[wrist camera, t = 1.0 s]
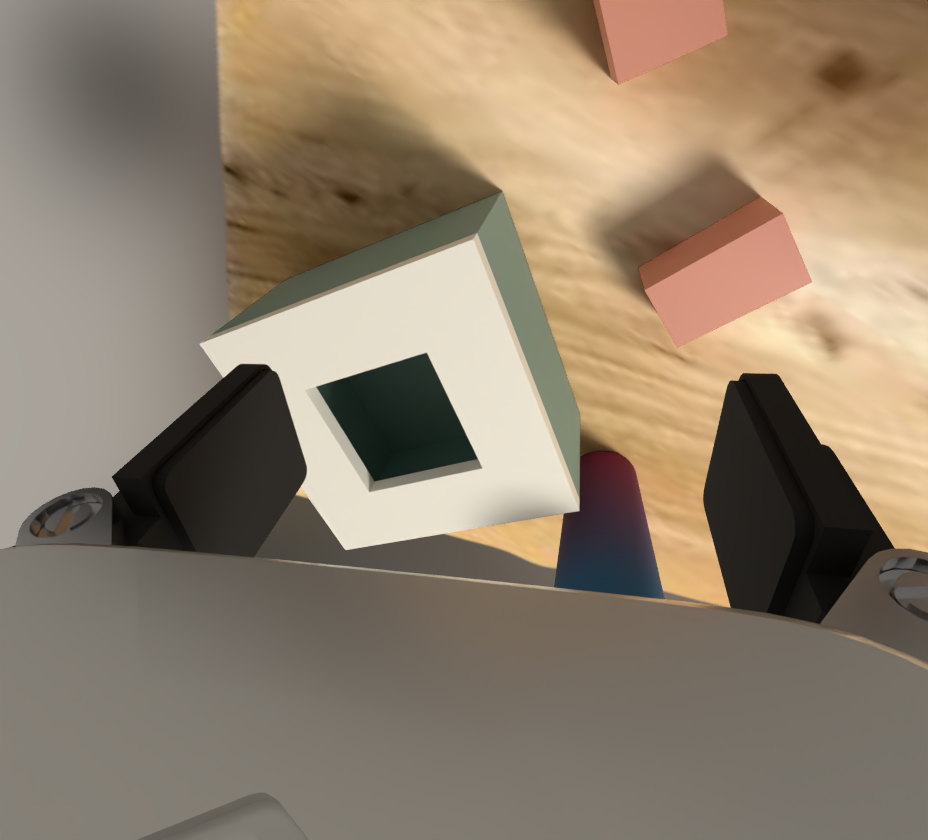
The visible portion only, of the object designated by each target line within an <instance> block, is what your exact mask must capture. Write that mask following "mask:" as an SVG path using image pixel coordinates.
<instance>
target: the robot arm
mask: <svg viewBox="0 0 928 840" xmlns="http://www.w3.org/2000/svg"><path fill="white" fill-rule="evenodd" d="M306 475H307V466H306V462H305V459H304V455H303V452H302V449H301V446H300V442H299V439H298V436H297V433H296V429H295V426H294V423H293V420H292V417H291V413H290V410H289V407H288V404H287V400H286V397H285V394H284V391H283V387H282V384H281V381H280V378H279V376H278V374H277V373H276V372H275V371H272V369H271V368H270V367H269V366H268V365H266V364H239V365H238V366H236V367H235V368H234V369H233V370H232V371H231V372H230V373H229V374H227V375H226V376H225V377H224V378H223V379H222V380H221V381H219V382H218V383H217V384H216V385H215V386H214V387H213V388H212V389H211V390H209V391H208V392H207V393H206V394H205V395H204V396H203V397H201V398H200V399H199V400H198V401H197V402H196V403H195V404H193V405H192V406H191V407H190V408H189V409H188V410H187V411H186V412H184V413H183V414H182V415H181V416H180V417H179V418H178V419H176V421H174V422H173V423H172V424H171V425H170V426H169V427H167V428H166V429H165V430H164V431H163V432H162V433H161V434H160V435H158V437H156V438H155V439H154V440H153V441H152V442H150V443H149V444H148V445H147V446H146V447H145V448H144V449H143V450H141V451H140V452H139V453H138V454H137V455H136V456H135V457H134V458H132V459H131V460H130V461H129V462H128V463H127V464H126V465H124V466H123V467H122V468H121V469H120V470H119V471H118V472H117V473H116V474H114V475H113V476H112V478H113V480H114V482H115V483H116V485H117V487H118V489H119V490H120V491H119V492H118V493H117V494H116V495H115V496H114V497H112V495H111V493H110V492H108V491H107V490H105V489H102V488H95V487H94V488H83V489H79V490H75V491H71V492H68V493H66V494H63V495H61V496H58V497H56V498H54V499H52V500H51V501H49V502H47V503H45V504H43V505H42V506H41V507H39V508H38V509H37V510H35V511H34V512H33V513H31V514H30V515H29V516H28V518H27V519H26V520H25V521H24V522H23V523H22V525H21V528H20V530H19V533H18V537H17V541H16V545H15V546H13V547H9V548H4V549H0V840H928V553H927V552H922V551H917V550H912V549H895V548H894V546H893V545H892V543H891V542H890V540H889V539H888V537H887V535H886V534H885V532H884V531H883V529H882V527H881V526H880V524H879V523H878V521H877V520H876V518H875V516H874V515H873V513H872V512H871V510H870V509H869V507H868V505H867V504H866V502H865V501H864V499H863V497H862V496H861V494H860V493H859V491H858V490H857V488H856V486H855V485H854V483H853V482H852V480H851V478H850V477H849V475H848V474H847V472H846V471H845V469H844V467H843V466H842V464H841V463H840V461H839V460H838V458H837V456H836V455H835V453H834V452H833V451H832V449H831V448H830V447H829V446H826V445H821V444H820V442H819V440H818V439H817V437H816V435H815V434H814V432H813V431H812V429H811V427H810V426H809V424H808V422H807V421H806V419H805V417H804V416H803V414H802V413H801V411H800V409H799V408H798V406H797V404H796V403H795V401H794V399H793V398H792V396H791V395H790V393H789V391H788V390H787V388H786V386H785V385H784V383H783V381H782V380H781V378H780V377H779V376H778V375H777V374H751V373H743V374H742V375H741V376H740V378H739V381H730V382H729V384H728V386H727V390H726V394H725V399H724V403H723V408H722V412H721V416H720V421H719V425H718V430H717V434H716V439H715V443H714V447H713V452H712V456H711V461H710V465H709V470H708V474H707V478H706V483H705V487H704V495H703V501H704V508H705V512H706V516H707V520H708V523H709V527H710V531H711V535H712V538H713V542H714V546H715V550H716V553H717V557H718V561H719V565H720V568H721V572H722V576H723V580H724V583H725V587H726V591H727V595H728V598H729V602H730V606H731V608H728V607H720V606H713V605H706V604H699V603H692V602H684V601H676V600H665V599H656V598H647V597H638V596H629V595H620V594H611V593H602V592H592V591H583V590H573V589H564V588H554V587H545V586H534V585H526V584H516V583H507V582H496V581H487V580H478V579H469V578H458V577H449V576H439V575H429V574H418V573H409V572H398V571H389V570H379V569H369V568H359V567H349V566H337V565H328V564H318V563H308V562H297V561H286V560H276V559H265V558H254V556H255V555H256V553H257V552H258V550H259V549H260V547H261V546H262V544H263V543H264V541H265V540H266V538H267V537H268V535H269V534H270V532H271V530H272V529H273V528H274V526H275V525H276V523H277V521H278V520H279V518H280V517H281V515H282V514H283V512H284V511H285V509H286V508H287V506H288V505H289V503H290V502H291V500H292V499H293V497H294V496H295V494H296V493H297V491H298V490H299V488H300V487H301V485H302V484H303V482H304V481H305V478H306Z"/></svg>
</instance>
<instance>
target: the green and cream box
mask: <svg viewBox="0 0 928 840" xmlns="http://www.w3.org/2000/svg"><path fill="white" fill-rule="evenodd" d="M200 345H201V347H202V348H203V349H204V351H205V352H206V354H207V355H208V357H209V358H210V359H211V361H212V362H213V363H214V365H215V366H216V368H217V369H218V371H219V372H220V373H221V375H222V376H223V378H224V377H225V376H226V375H227V374H229V373H230V372H231V371H232V370H233V369H234V368H235V367H236V366H238V365H239V364H266V365H268V366H269V367H270V368H271V369H272V371H275V372H276V373H277V374H278V376H279V378H280V381H281V384H282V387H283V391H284V394H285V397H286V400H287V404H288V407H289V410H290V413H291V417H292V420H293V423H294V426H295V429H296V433H297V436H298V439H299V442H300V446H301V449H302V452H303V455H304V459H305V462H306V466H307V475H306V478H305V481H304V482H303V484H302V485H301V488H302V489H303V491H304V492H305V494H306V495H307V496H308V498H309V499H310V501H311V502H312V503H313V505H314V506H315V508H316V509H317V511H318V512H319V513H320V515H321V516H322V518H323V519H324V520H325V522H326V523H327V525H328V526H329V528H330V529H331V530H332V532H333V533H334V535H335V536H336V537H337V539H338V540H339V542H340V543H341V544H342V546H343V547H344V549H345V550H348V549H354V548H360V547H366V546H372V545H378V544H384V543H390V542H396V541H402V540H408V539H414V538H420V537H426V536H432V535H438V534H444V533H450V532H456V531H462V530H468V529H474V528H480V527H486V526H492V525H498V524H504V523H510V522H516V521H522V520H528V519H534V518H540V517H546V516H552V515H558V514H564V513H570V512H576V511H579V506H580V412H579V409H578V406H577V403H576V401H575V398H574V395H573V392H572V389H571V386H570V383H569V381H568V378H567V375H566V372H565V369H564V366H563V363H562V360H561V358H560V355H559V352H558V349H557V346H556V343H555V340H554V337H553V335H552V332H551V329H550V326H549V323H548V320H547V317H546V315H545V312H544V309H543V306H542V303H541V300H540V297H539V294H538V292H537V289H536V286H535V283H534V280H533V277H532V274H531V272H530V269H529V266H528V263H527V260H526V257H525V254H524V251H523V249H522V246H521V243H520V240H519V237H518V234H517V231H516V228H515V226H514V223H513V220H512V217H511V214H510V211H509V208H508V206H507V203H506V200H505V197H504V194H503V191H502V192H499V193H497V194H494V195H492V196H489V197H487V198H484V199H482V200H480V201H477V202H475V203H472V204H470V205H467V206H465V207H462V208H460V209H458V210H455V211H453V212H450V213H448V214H445V215H443V216H440V217H438V218H436V219H433V220H431V221H428V222H426V223H423V224H421V225H418V226H416V227H414V228H411V229H409V230H406V231H404V232H401V233H399V234H396V235H394V236H392V237H389V238H387V239H384V240H382V241H379V242H377V243H374V244H372V245H370V246H367V247H365V248H362V249H360V250H357V251H355V252H352V253H350V254H348V255H345V256H343V257H340V258H338V259H335V260H333V261H330V262H328V263H326V264H323V265H321V266H318V267H316V268H313V269H311V270H308V271H306V272H304V273H301V274H299V275H296V276H294V277H291V278H289V279H286V280H285V281H283V282H282V283H281V284H279V285H278V286H277V287H275V288H274V289H273V290H271V291H270V292H268V293H267V294H266V295H264V296H263V297H262V298H260V299H259V300H258V301H256V302H255V303H254V304H252V305H251V306H250V307H248V308H247V309H246V310H244V311H243V312H242V313H240V314H239V315H238V316H236V317H235V318H234V319H232V320H231V321H230V322H228V323H227V324H225V325H224V326H223V327H221V328H220V329H219V330H217V331H216V332H215V333H213V334H212V335H211V336H209V337H208V338H207V339H205V340H204V341H203V342H201V343H200Z"/></svg>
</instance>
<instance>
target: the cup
mask: <svg viewBox="0 0 928 840" xmlns="http://www.w3.org/2000/svg"><path fill="white" fill-rule="evenodd" d="M554 588H564V589H573V590H583V591H592V592H602V593H611V594H620V595H629V596H638V597H647V598H656V599H665V598H664V594H663V590H662V585H661V581H660V577H659V572H658V568H657V563H656V559H655V555H654V550H653V546H652V542H651V537H650V533H649V528H648V524H647V520H646V515H645V511H644V507H643V502H642V498H641V493H640V489H639V485H638V480H637V476H636V472H635V469H634V467H633V465H632V464H631V463H630V462H629V461H628V460H627V459H626V458H625V457H623V456H621V455H619V454H616V453H613V452H607V451H598V452H592V453H588V454H586V455H584V456H582V457H580V506H579V511H576V512H570V513H564V516H563V524H562V532H561V539H560V547H559V555H558V562H557V570H556V578H555V585H554Z"/></svg>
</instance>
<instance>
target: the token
mask: <svg viewBox="0 0 928 840" xmlns="http://www.w3.org/2000/svg"><path fill="white" fill-rule="evenodd" d="M638 268H639V272H640V275H641V279H642V283H643V287H644V290H645V292H646V294H647V296H648V297H649V299H650V301H651V303H652V304H653V306H654V308H655V310H656V311H657V313H658V315H659V317H660V318H661V320H662V322H663V324H664V325H665V327H666V329H667V331H668V332H669V334H670V336H671V338H672V339H673V341H674V343H675V344H676V346H677V348H678V347H680V346H682V345H684V344H686V343H688V342H690V341H692V340H694V339H696V338H698V337H700V336H702V335H704V334H706V333H709V332H711V331H713V330H715V329H717V328H719V327H721V326H723V325H725V324H727V323H729V322H731V321H733V320H735V319H737V318H739V317H741V316H743V315H745V314H747V313H750V312H752V311H754V310H756V309H758V308H760V307H762V306H764V305H766V304H768V303H770V302H772V301H774V300H776V299H778V298H780V297H782V296H784V295H786V294H789V293H791V292H793V291H795V290H797V289H799V288H801V287H803V286H805V285H807V284H809V283H811V282H812V280H811V278H810V276H809V273H808V271H807V269H806V266H805V264H804V262H803V259H802V257H801V255H800V252H799V250H798V248H797V245H796V243H795V241H794V238H793V236H792V234H791V231H790V229H789V227H788V224H787V222H786V220H785V217H784V215H783V213H782V212H780V211H779V210H778V209H776V208H775V207H774V206H773V205H771V204H770V203H769V202H767V201H766V200H765V199H763V198H762V197H759V198H757V199H756V200H754V201H752V202H751V203H749V204H747V205H745V206H744V207H742V208H740V209H738V210H737V211H735V212H733V213H732V214H730V215H728V216H726V217H725V218H723V219H721V220H719V221H718V222H716V223H714V224H713V225H711V226H709V227H707V228H706V229H704V230H702V231H700V232H699V233H697V234H695V235H694V236H692V237H690V238H688V239H687V240H685V241H683V242H681V243H680V244H678V245H676V246H675V247H673V248H671V249H669V250H668V251H666V252H664V253H662V254H661V255H659V256H657V257H656V258H654V259H652V260H650V261H649V262H647V263H645V264H643V265H642V266H640V267H638Z"/></svg>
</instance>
